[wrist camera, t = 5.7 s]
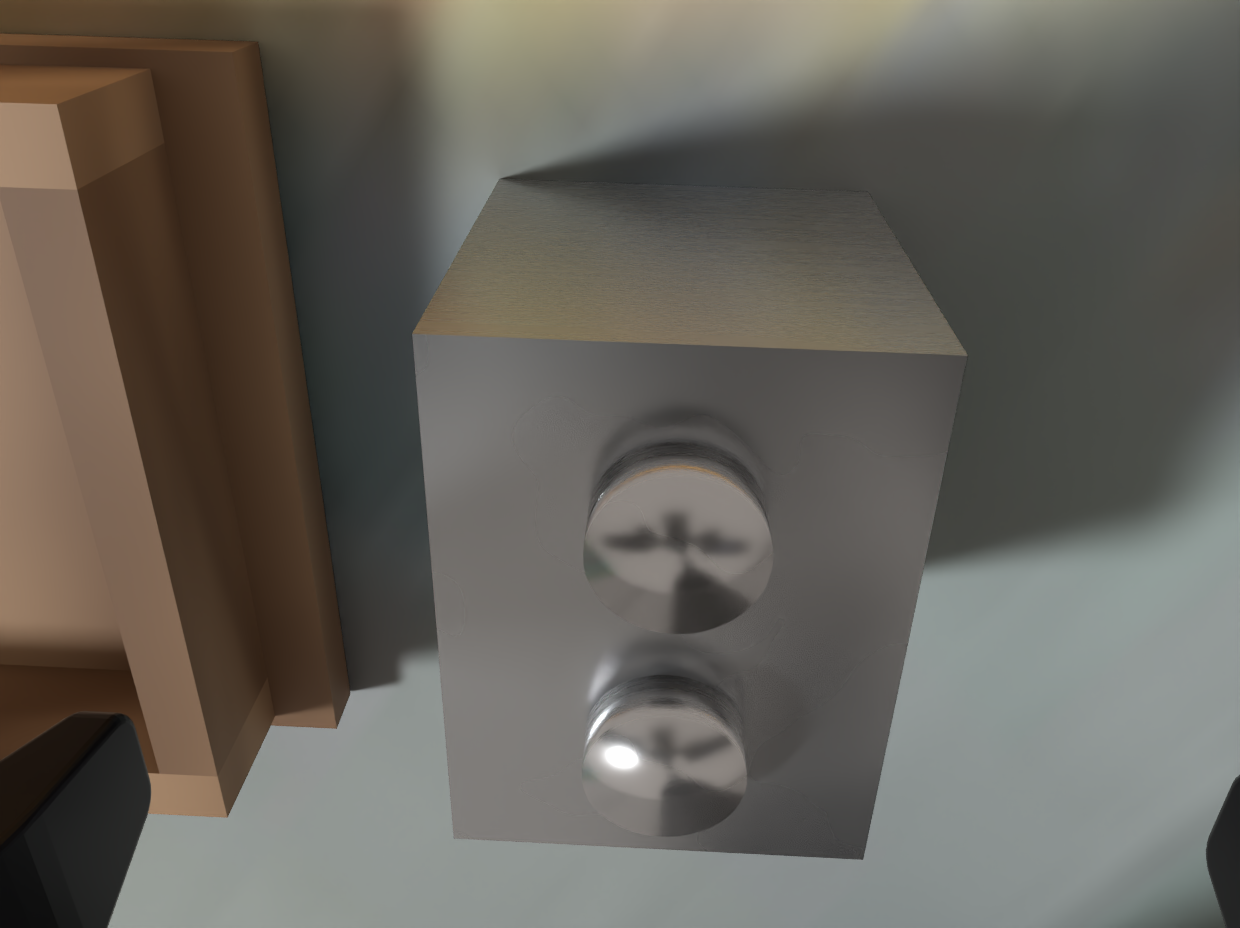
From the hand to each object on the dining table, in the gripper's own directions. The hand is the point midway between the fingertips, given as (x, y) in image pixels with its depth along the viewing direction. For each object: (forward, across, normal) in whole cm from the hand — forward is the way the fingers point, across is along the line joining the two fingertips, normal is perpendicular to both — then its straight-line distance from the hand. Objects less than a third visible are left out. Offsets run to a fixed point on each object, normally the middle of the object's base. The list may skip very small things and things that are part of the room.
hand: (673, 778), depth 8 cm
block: (+7, 0, 0) cm, 7 cm away
